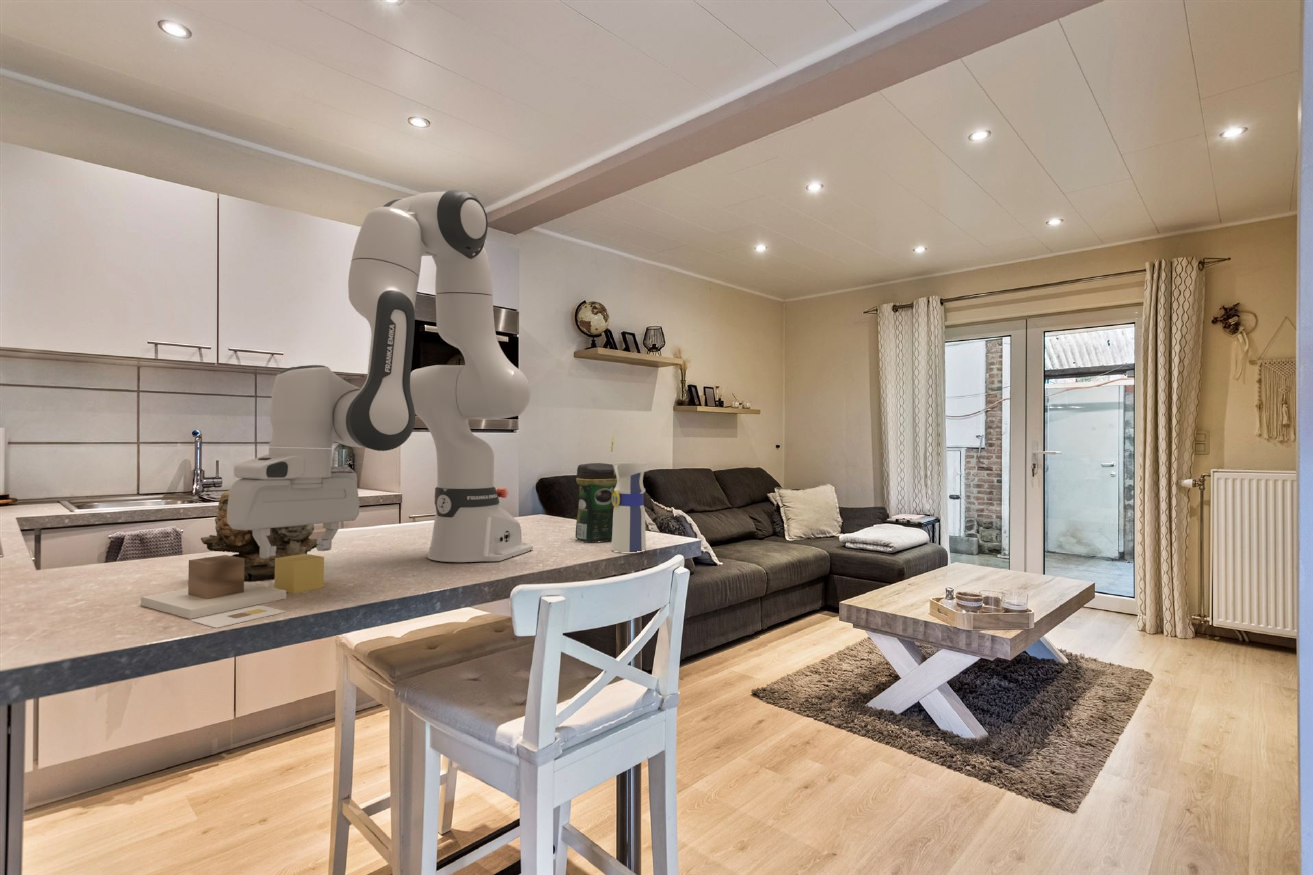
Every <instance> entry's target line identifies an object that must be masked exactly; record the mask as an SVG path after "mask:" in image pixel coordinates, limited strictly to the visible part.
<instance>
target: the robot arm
mask: <svg viewBox="0 0 1313 875" xmlns="http://www.w3.org/2000/svg"><path fill="white" fill-rule="evenodd" d="M488 222H489V221H488V215H487V212H486V210H485V207H484V205H482V203H481V201H480V200H479V199H478V197H477V196H475V194H473V193H471V192H469V191H465V190H460V189H459V190H457V189H450V190H447V191H428V192H427V191H426V192H422V193H420V194H415V195H411V196H408V197H404V198H402V197H400V198H396V199H392V200H390V201H389V202H387V203H385V204H384V205H383V206H378V207H375V208H373V209H371V210H370V211H369V212H368V213H367V214H366V216H365V218H364V220H363V223H362V224H361V227H360V230H359V232H358V236H357V238H356V242H355V245H354V247H353V248H354V249H353V252H352V256H351V262H350V267H349V273H348V278H347V279H348V282H347V285H348V286H347V287H348V290H347V291H348V293H347V294H348V300H349V302H350V304H351V306H352V307H353V308H354V310H355V311H356V312H357V313H358V314H359V315H360V316H361V317H363V318H364V319H366V321H367V322H368V325H369V327H370V330H371V331H370V332H371V338H370V347H369V348H370V349H369V355H368V356H369V358H368V365H367V366H368V368H367V376H366V379H365V382H364V383H363V385H362V387H358V386H356V385H354V384H352V383H350V382H348V381H346V380H344V379H343V378H341V377H340V376H339V375H337V374H336V373H334V372H333V370H331V368H330V367H328V366H325V365H321V364H311V365H310V364H309V365H298V366H292V367H288V368H285V369H284V370H281V371H280V372H279V373H278V374H277V375H276V376H275V380H274V383H273V387H272V393H271V402H270V411H269V413H270V415H269V417H270V418H269V420H270V424H271V428H272V432H271V433H272V434H271V439H270V440H269V444H268V454H264V455H262V456H258V457H255V458H252V459H248V460H246V461H243V462H238V463H237V464H235V465H234V467H233V476H234V477H235V478H237V479H238V480H235V481H234V482H233V484H232V485H231V486H230V489H229V490H230V493H229V499H228V506H227V523H228V524H229V525H230V527H231V528H232V529H237V530H253V535H252V536H253V537H254V539H255V540H256V542H257V544H258V545H259V546H260V558H264V559H267V558H273V557H275V556H276V553H275V551H276V546H272V545H270V543H269V541H268V539H267V537H266V536H269V535H270V528H277V527H288V526H299V525H310V524H314V525H320V524H322V528H323V529H325V531H324V532H323V535H322V537H321V538H319V540H317V548H316V551H318V552H326V551H331V550H332V547H333V546H332V544H333V539H334V538H335V536H336V534H337V533H338V531H339V530H340V529H339V527H340V523H343V522H344V523H345V522H352V521H356V519H357V518H358V517H359V514H360V500H359V499H360V498H359V489H358V475H357V473H356V471H354V470H353V469H352V468H351V467H350V466H343V465H342V466H336V465H335V466H334V465H333V466H332V460H333V459H332V457H333V455H332V454H333V445H334V443H337V444H338V443H339V444H341V445H344V446H347V447H351V448H352V447H355V448H359V449H362V448H363V449H364V448H365V449H370V450H372V451H378V452H385V451H390V450H394V449H397V448H399V447H400V446H401V445H403V444H404V443H405V442H407V440H408V439H409V438H410V437H411V435H412V433H413V431H414V428H415V426H416V425H415V424H416V416H417V417H418V418H419V419H420V420H421V421H422V422H423V424H425V426H426V428H427V429H428V431H429V433H430V435H431V437H432V440H433V442H434V446H435V451H436V464H437V465H436V468H437V469H436V470H437V472H436V473H437V480H436V481H437V482H436V483H437V484H436V487H435V488H434V496H433V497H434V505H435V516H434V521H433V528H432V536H431V541H430V546H429V549H428V554H427V556H426V557H427V558H428V559H429V560H431V561H437V562H438V561H439V562H445V563H447V562H448V563H468V562H469V563H473V562H474V563H475V562H500V561H503V560H507V559H510V558H513V557H516V556H519V555H522V554H525V553H528V552H530V550H531V551H533V550H534V549H533V548H534V547H533V545H532V544H530V543H525V542H523V541H522V539H523V538H522V527H521V524H520V522H519V521H518V520H517V519H516V518H515V517H514V516H513V515H511V514H510V513H509V512H508V511H507V510H506V509H505V508H503V507H502V506H501V504H500V499H499V498H502V499H506V498H508V496H509V490H508V488H498V487H497V489H496V487H495V486H494V483H495V482H494V477H495V476H494V475H495V452H494V451H493V448H492V447H491V445H490V444H489V443H488V442H486V441H485V440H483V439H482V438H480V437H478V436H476V435H475V434H474V433H473V432H472V430H471V428H470V423H469V420H502V419H503V420H504V419H508V418H514V417H517V416H520V415H522V414H523V413H524V411H525V410H526V408H527V407H528V405H529V403H530V398H531V386H530V383H529V380H528V378H527V377H526V375H525V374H524V372H523V371H522V370H520V369H519V368H518V367H517V366H515V365H514V364H513V363H512V362H511V361H510V360H509V358H507V356H506V354H505V353H504V351H503V350H502V348H501V346H500V343H499V341H498V338H497V333H496V328H495V327H496V326H495V317H494V314H495V313H494V298H493V297H494V294H493V293H494V292H493V281H492V272H491V266H490V265H491V264H490V261H489V260H490V259H489V255H488V252H487V250H486V248H485V247H484V246H485V243H486V239H487V235H488V227H489V226H488V224H489V223H488ZM426 256H427V257H432V259H433V262H434V264H435V267H436V268H435V286H434V288H435V315H436V316H435V317H436V330H437V331H436V332H437V333H438V335H439V336H440V338H441V339H442V340H443V341H445V342H446V343H447V344H448V345H450V346H453V347H454V348H456V349H458V351H460V353H461V354H462V356H463V358H464V364H463V365H462V364H460V365H458V364H436V365H430V366H424V367H421V368H416V369H414V370H412V363H413V362H412V361H413V352H414V351H413V350H414V338H415V326H416V325H415V324H416V323H415V320H416V318H415V314H416V313H415V312H416V310H415V307H416V301H417V293H418V287H419V280H420V275H421V267H422V257H426ZM512 556H513V557H512Z"/></svg>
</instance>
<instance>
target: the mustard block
mask: <svg viewBox="0 0 1313 875" xmlns="http://www.w3.org/2000/svg"><path fill="white" fill-rule="evenodd" d="M324 580H325V556H321V555H315V554H308V553H307V554H300V555H293V556H287V557H280V558H275V579H274V587H273V588H277V589H282V590H286V593H289V594H299V593H303V592H308V591H312V590H317V589H322V588H324V586H325V581H324Z"/></svg>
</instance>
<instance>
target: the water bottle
mask: <svg viewBox="0 0 1313 875" xmlns="http://www.w3.org/2000/svg"><path fill="white" fill-rule="evenodd" d="M611 439H612V440H611V447H610V448H611V449H610V452H613V449H614V448H613V446H614V436H612V438H611ZM612 465H613V470H614V475H615V474H616V477H617V482H616V485H615V489H614V492H613V494H612V504H613V506H614V510H613V531H612V540H611V545H610V546H611V548H610V550H613V551H618V552H637V551H642V550H646V551H647V541H646V508H645V505H644V494H645V492H646V488H645V487H644V482H643V481H644V475H645V472H649V471H650V467H649V464H648V463H647V462H633V461H632V462H631V461H627V462H612Z"/></svg>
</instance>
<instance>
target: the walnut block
mask: <svg viewBox="0 0 1313 875" xmlns="http://www.w3.org/2000/svg"><path fill="white" fill-rule="evenodd" d="M244 559H245V558H240V557H234V556H232V555H228V554H221V555H215V556H214V555H213V556H207V557H201V558H193V559H188V576H187V577H188V580H187V582H188V583H187V584H188V585H187V586H188V588H187V589H188V595H191V596H195V597H199V598H203V599H212V598H217V597H222V596H228V595H233V594H238V593H243V592H244Z"/></svg>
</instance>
